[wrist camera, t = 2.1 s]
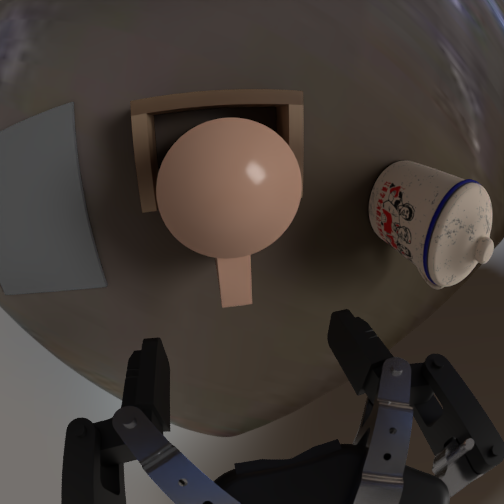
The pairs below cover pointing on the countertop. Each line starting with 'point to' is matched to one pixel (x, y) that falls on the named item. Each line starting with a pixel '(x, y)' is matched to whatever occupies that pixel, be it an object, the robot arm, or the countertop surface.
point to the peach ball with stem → (229, 196)
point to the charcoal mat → (44, 208)
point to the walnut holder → (145, 109)
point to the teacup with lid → (433, 220)
